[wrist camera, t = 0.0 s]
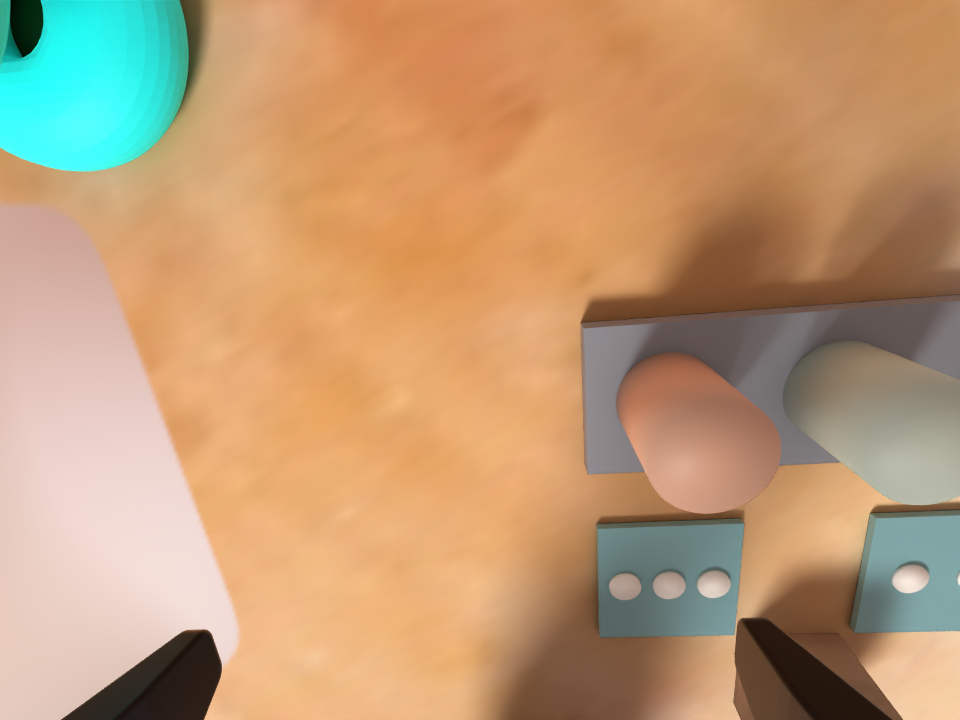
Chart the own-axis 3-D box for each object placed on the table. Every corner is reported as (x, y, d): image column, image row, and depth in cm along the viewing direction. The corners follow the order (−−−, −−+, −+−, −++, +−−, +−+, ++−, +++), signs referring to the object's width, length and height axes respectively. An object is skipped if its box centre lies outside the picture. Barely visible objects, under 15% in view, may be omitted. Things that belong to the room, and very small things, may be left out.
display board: (1061, 439, 22) (1258, 525, 16) (584, 463, 23) (608, 547, 18) (1109, 283, 19) (1358, 317, 14) (580, 322, 21) (606, 367, 16)
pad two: (994, 623, 25) (1005, 633, 24) (849, 626, 25) (857, 636, 25) (1028, 507, 23) (1042, 515, 22) (870, 513, 23) (879, 521, 23)
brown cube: (824, 700, 27) (891, 805, 23) (732, 701, 28) (778, 804, 23) (836, 631, 26) (910, 729, 21) (738, 633, 26) (789, 729, 21)
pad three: (731, 628, 26) (736, 638, 25) (598, 631, 27) (600, 640, 26) (740, 518, 24) (746, 526, 23) (596, 524, 24) (598, 531, 24)
